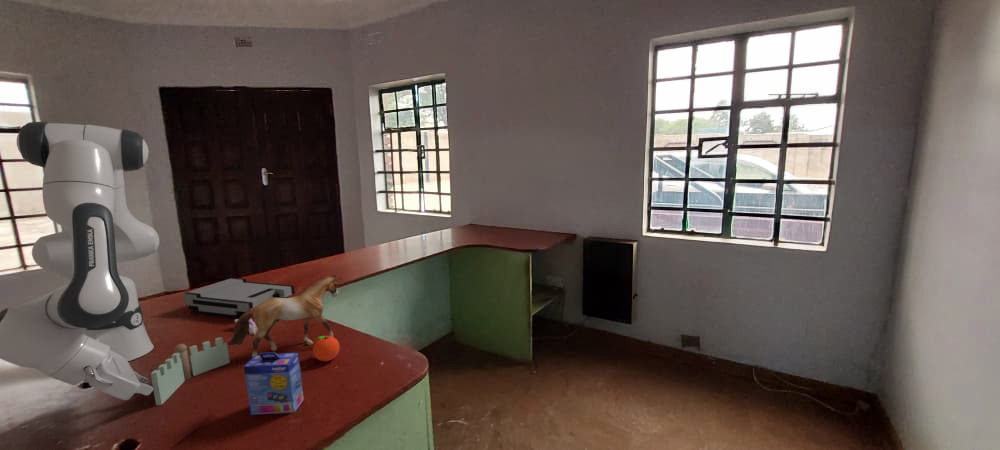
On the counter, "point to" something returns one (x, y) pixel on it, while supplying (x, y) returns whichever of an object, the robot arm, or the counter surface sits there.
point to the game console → (233, 297)
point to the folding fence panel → (167, 378)
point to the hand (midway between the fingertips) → (148, 387)
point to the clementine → (326, 348)
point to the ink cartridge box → (274, 383)
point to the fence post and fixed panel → (203, 357)
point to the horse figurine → (286, 312)
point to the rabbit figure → (251, 326)
